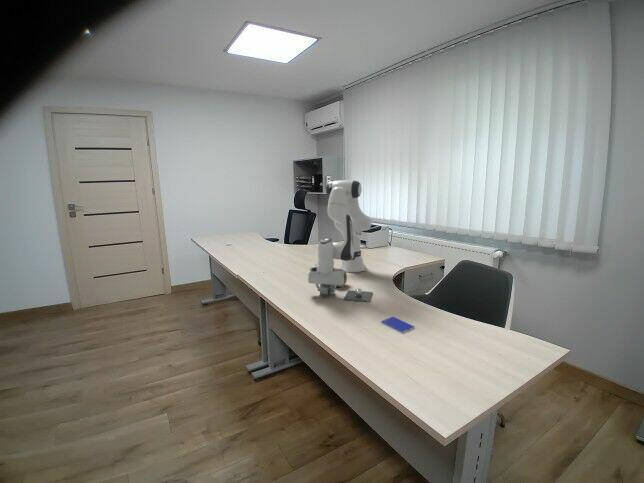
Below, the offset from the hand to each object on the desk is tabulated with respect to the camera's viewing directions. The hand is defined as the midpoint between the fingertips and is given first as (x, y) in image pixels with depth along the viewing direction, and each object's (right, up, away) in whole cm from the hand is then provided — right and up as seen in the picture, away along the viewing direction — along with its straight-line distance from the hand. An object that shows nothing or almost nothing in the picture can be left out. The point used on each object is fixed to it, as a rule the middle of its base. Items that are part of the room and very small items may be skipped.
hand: (326, 291), depth 184 cm
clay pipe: (+6, +2, +20) cm, 21 cm away
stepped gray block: (0, -2, 0) cm, 2 cm away
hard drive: (+31, -10, -38) cm, 50 cm away
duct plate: (+18, -2, -3) cm, 18 cm away
